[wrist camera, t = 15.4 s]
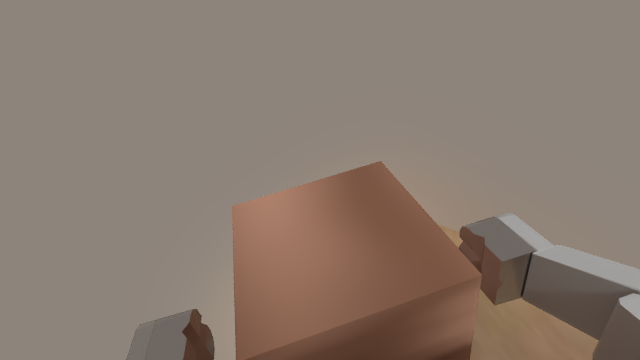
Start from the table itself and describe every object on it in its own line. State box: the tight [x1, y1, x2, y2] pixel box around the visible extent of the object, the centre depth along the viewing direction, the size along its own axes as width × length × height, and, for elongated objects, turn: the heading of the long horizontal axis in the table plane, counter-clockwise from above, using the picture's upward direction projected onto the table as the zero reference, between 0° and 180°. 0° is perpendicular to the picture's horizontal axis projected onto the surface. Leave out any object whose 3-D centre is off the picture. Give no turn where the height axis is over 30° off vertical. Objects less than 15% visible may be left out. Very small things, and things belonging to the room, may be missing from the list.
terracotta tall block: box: [232, 161, 482, 360], centre depth 11 cm, size 5×5×10 cm
